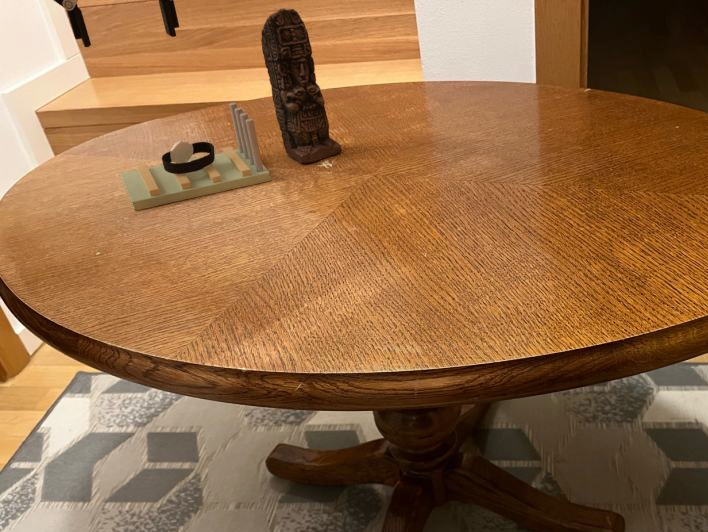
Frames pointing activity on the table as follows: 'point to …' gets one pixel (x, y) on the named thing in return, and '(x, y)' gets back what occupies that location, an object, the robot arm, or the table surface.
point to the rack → (201, 171)
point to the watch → (187, 157)
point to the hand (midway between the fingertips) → (130, 40)
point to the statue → (296, 88)
